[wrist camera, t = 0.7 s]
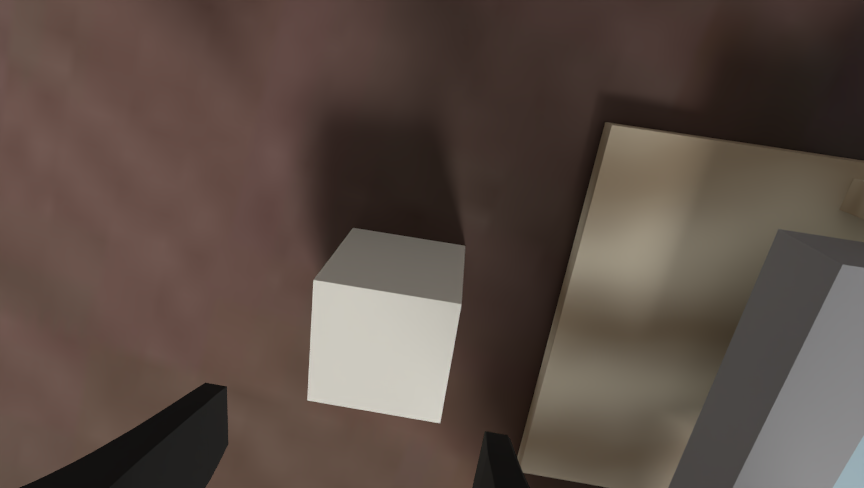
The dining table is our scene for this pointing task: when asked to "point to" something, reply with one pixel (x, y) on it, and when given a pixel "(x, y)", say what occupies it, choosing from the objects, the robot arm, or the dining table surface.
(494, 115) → the dining table surface
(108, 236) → the dining table surface
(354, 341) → the limestone block
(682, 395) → the beige slab
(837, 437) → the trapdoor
